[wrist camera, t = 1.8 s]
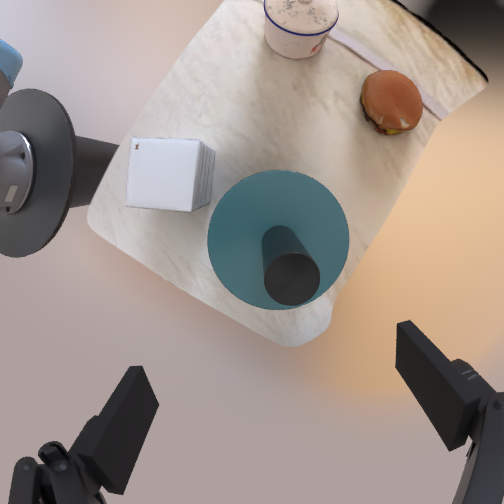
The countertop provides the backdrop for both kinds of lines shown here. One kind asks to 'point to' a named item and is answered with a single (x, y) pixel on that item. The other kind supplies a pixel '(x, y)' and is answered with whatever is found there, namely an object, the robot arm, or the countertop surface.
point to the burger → (391, 102)
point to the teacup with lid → (298, 25)
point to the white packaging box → (169, 174)
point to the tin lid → (278, 239)
